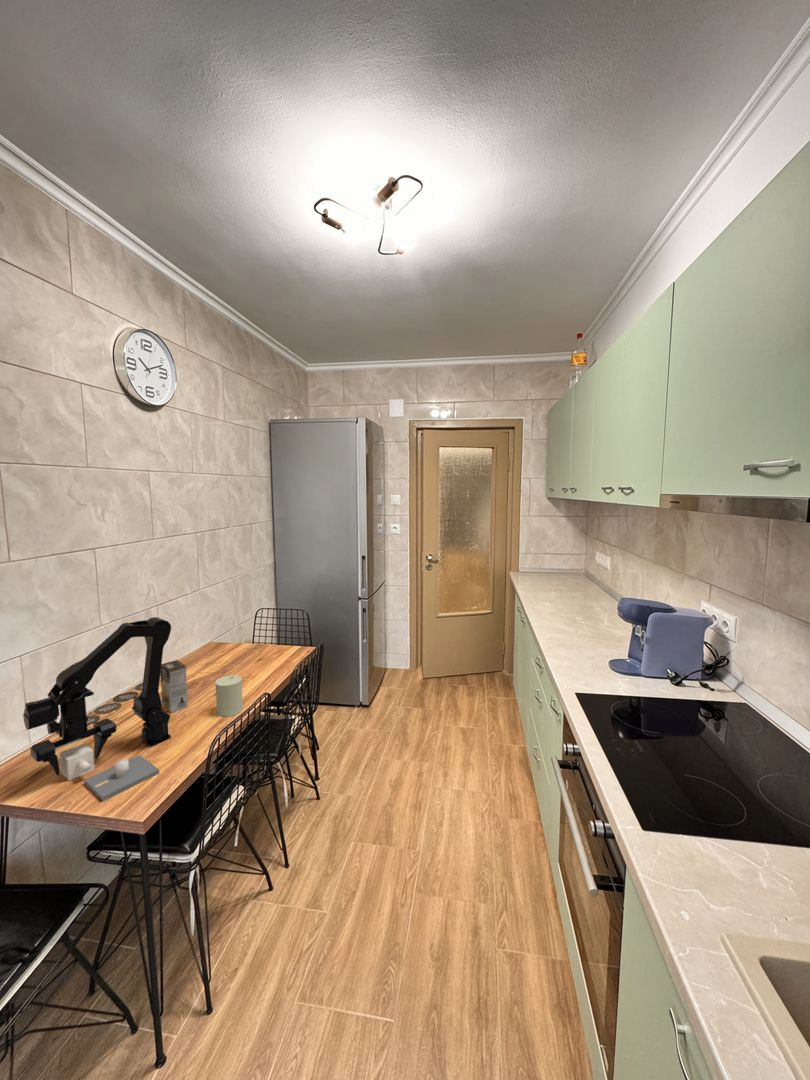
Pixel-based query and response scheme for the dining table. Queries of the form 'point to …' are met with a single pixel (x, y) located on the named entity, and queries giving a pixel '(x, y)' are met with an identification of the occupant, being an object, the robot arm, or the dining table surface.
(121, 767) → the grey slotted slab
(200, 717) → the dining table surface
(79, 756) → the cream rectangular block
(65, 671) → the robot arm
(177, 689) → the coffee box
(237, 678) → the can
